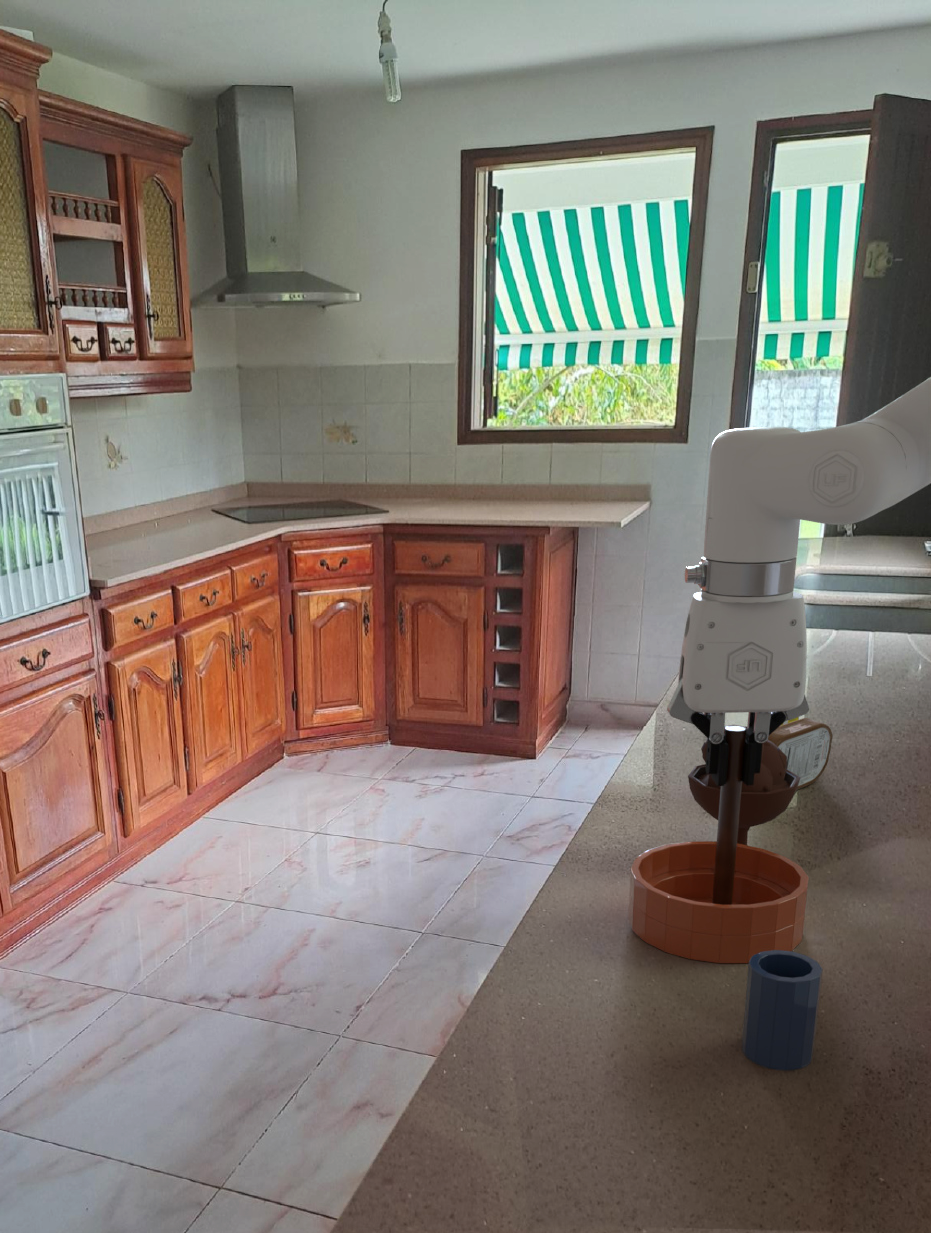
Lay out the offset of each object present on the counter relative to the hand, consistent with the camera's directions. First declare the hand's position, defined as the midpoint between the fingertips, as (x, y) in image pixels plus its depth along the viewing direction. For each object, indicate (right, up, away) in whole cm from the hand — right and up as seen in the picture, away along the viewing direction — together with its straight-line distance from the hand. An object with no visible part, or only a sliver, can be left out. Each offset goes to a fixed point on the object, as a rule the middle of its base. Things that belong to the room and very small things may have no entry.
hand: (731, 779), depth 106 cm
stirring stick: (+1, -12, +5) cm, 13 cm away
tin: (+20, 0, +37) cm, 43 cm away
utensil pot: (-3, -22, -17) cm, 28 cm away
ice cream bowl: (+7, -8, +18) cm, 21 cm away
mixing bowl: (-1, -14, +3) cm, 14 cm away
